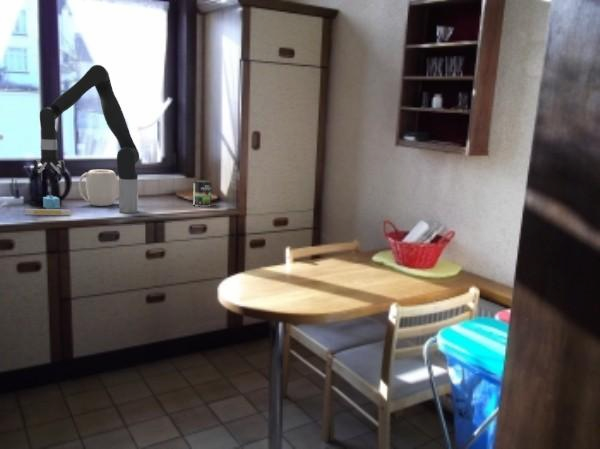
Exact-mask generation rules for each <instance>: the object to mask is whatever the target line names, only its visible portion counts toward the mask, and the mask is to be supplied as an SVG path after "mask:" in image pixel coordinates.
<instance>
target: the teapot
mask: <svg viewBox="0 0 600 449" xmlns="http://www.w3.org/2000/svg"><path fill="white" fill-rule="evenodd" d="M42 203H43V206H42V207H43V209H59V210H61V207H60V206H61V205H60V204H61V203H60V198H59V197H57V196H53V195H46V196H43V197H42Z"/></svg>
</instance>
